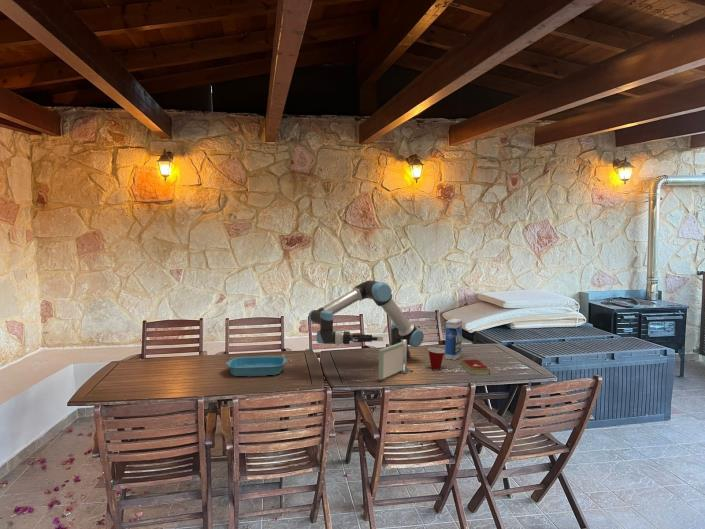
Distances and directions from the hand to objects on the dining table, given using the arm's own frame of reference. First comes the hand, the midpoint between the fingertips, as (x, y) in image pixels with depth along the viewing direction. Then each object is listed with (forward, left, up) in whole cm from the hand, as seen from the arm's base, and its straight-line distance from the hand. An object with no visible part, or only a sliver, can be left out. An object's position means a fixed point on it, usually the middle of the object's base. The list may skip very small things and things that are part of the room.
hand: (383, 338), depth 276 cm
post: (+1, +18, -23) cm, 30 cm away
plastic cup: (+11, +38, -23) cm, 46 cm away
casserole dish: (-59, -49, -24) cm, 80 cm away
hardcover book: (+28, +54, -24) cm, 66 cm away
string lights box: (+4, +67, -24) cm, 72 cm away
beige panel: (+3, +5, -22) cm, 22 cm away
